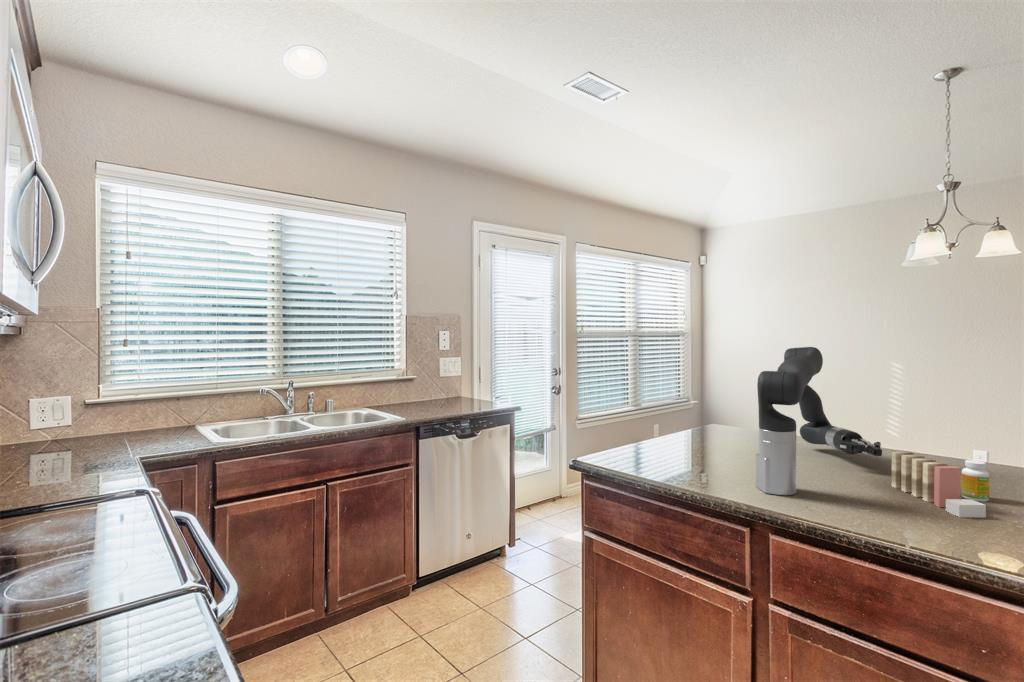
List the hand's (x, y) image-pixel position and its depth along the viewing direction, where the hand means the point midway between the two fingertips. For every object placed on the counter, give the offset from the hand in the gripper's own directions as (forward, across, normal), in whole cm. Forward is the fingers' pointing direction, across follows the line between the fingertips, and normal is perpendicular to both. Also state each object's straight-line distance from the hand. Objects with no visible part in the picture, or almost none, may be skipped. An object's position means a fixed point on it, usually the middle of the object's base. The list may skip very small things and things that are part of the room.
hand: (879, 452), depth 151 cm
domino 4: (+21, 0, +8) cm, 22 cm away
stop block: (+30, 0, +8) cm, 31 cm away
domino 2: (+13, 0, +8) cm, 15 cm away
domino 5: (+25, 0, +8) cm, 26 cm away
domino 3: (+17, 0, +8) cm, 19 cm away
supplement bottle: (+18, +12, +8) cm, 23 cm away
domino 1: (+10, 0, +8) cm, 12 cm away
